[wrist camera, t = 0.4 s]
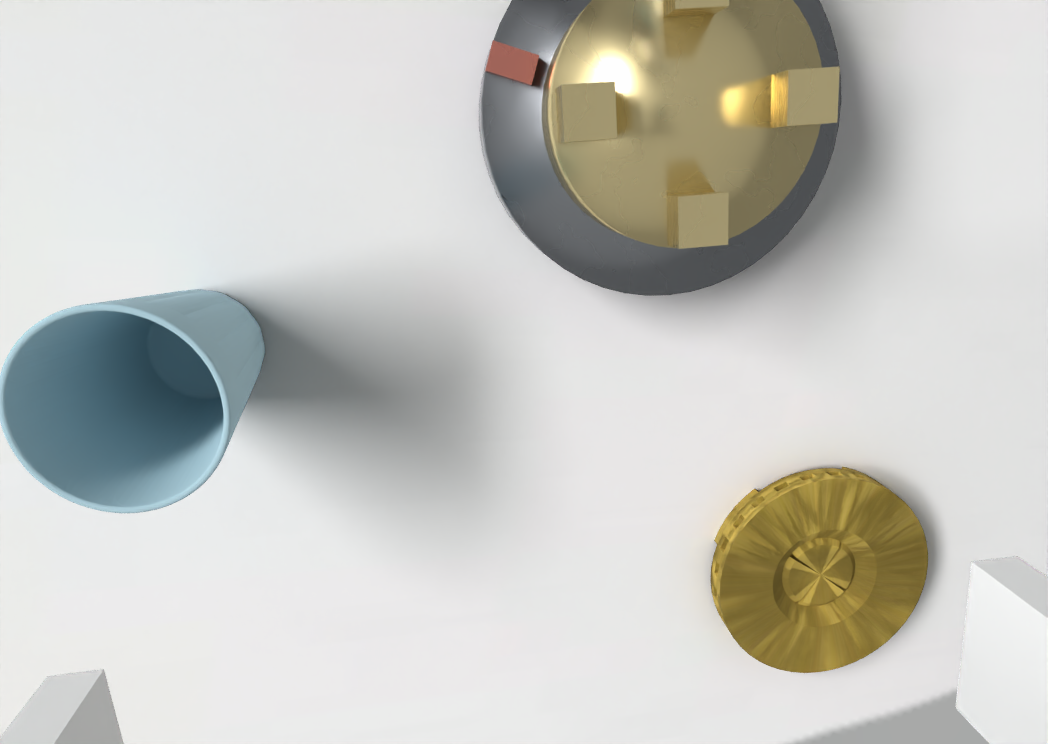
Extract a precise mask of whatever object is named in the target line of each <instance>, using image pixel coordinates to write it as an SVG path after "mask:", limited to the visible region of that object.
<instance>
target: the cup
mask: <svg viewBox="0 0 1048 744" xmlns="http://www.w3.org/2000/svg"><path fill="white" fill-rule="evenodd" d="M264 355H265V345H264V341H263V336H262V332H261V329H260V326H259V324H258V323H257V321H256V320H255V319H254V317H253V316H252V315H251V313H250V312H249V311H248V310H247V308H246V307H245V306H243V305H242V304H241V303H239V302H238V301H236V300H234V299H232V298H230V297H229V296H227V295H225V294H223V293H220V292H216V291H206V290H186V291H178V292H171V293H164V294H157V295H150V296H143V297H136V298H129V299H122V300H115V301H107V302H100V303H93V304H86V305H80V306H75V307H71V308H68V309H64V310H62V311H59V312H56V313H54V314H52V315H50V316H48V317H46V318H44V319H43V320H41V321H40V322H38V323H37V324H35V325H34V326H32V327H31V328H30V329H29V330H28V331H27V332H25V333H24V334H23V336H22V337H21V338H20V339H19V340H18V341H17V342H16V344H15V345H14V346H13V348H12V349H11V351H10V353H9V354H8V356H7V358H6V360H5V363H4V365H3V368H2V371H1V374H0V423H1V426H2V429H3V432H4V435H5V437H6V439H7V441H8V443H9V445H10V447H11V449H12V450H13V452H14V454H15V455H16V457H17V458H18V460H19V461H20V462H21V463H22V465H23V466H24V467H25V468H26V470H27V471H28V472H29V473H30V474H31V475H32V476H33V477H35V478H36V479H37V480H38V481H39V482H40V483H42V484H43V485H44V486H46V487H47V488H48V489H50V490H51V491H53V492H54V493H56V494H58V495H59V496H61V497H63V498H65V499H67V500H69V501H71V502H74V503H76V504H79V505H82V506H85V507H88V508H92V509H95V510H100V511H106V512H114V513H138V512H146V511H151V510H155V509H159V508H163V507H165V506H168V505H171V504H173V503H175V502H177V501H179V500H181V499H183V498H185V497H187V496H188V495H190V494H191V493H193V492H194V491H195V490H197V489H198V488H199V487H200V486H201V485H203V484H204V483H205V482H206V481H207V479H208V478H209V477H210V476H211V475H212V473H213V472H214V471H215V469H216V468H217V466H218V465H219V463H220V461H221V459H222V457H223V455H224V453H225V451H226V449H227V446H228V444H229V442H230V439H231V437H232V435H233V432H234V430H235V427H236V425H237V423H238V421H239V418H240V416H241V414H242V412H243V410H244V407H245V405H246V403H247V401H248V398H249V396H250V394H251V392H252V389H253V387H254V385H255V382H256V380H257V378H258V375H259V373H260V370H261V367H262V362H263V359H264Z"/></svg>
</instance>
